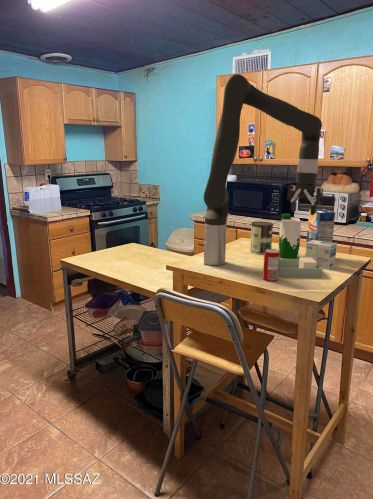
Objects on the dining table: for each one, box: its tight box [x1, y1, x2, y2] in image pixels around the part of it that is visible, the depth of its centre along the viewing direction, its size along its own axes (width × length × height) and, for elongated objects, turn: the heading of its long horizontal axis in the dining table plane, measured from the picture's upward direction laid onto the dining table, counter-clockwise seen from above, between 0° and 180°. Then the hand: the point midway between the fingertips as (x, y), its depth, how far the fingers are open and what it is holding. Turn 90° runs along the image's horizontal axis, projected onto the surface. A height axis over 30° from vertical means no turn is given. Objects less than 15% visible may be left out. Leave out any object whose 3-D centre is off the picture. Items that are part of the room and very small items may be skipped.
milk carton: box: [278, 213, 302, 259], centre depth 174 cm, size 9×9×20 cm
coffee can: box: [249, 220, 274, 255], centre depth 185 cm, size 10×10×14 cm
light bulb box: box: [304, 240, 338, 271], centre depth 162 cm, size 11×7×11 cm, turn 48°
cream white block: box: [298, 256, 317, 268], centre depth 154 cm, size 5×7×5 cm
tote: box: [278, 258, 323, 278], centre depth 154 cm, size 17×13×4 cm
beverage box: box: [304, 208, 336, 257], centre depth 173 cm, size 7×11×22 cm, turn 7°
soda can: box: [262, 248, 281, 283], centre depth 144 cm, size 6×6×12 cm
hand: (302, 213), depth 152 cm, fingers open, 8 cm apart
